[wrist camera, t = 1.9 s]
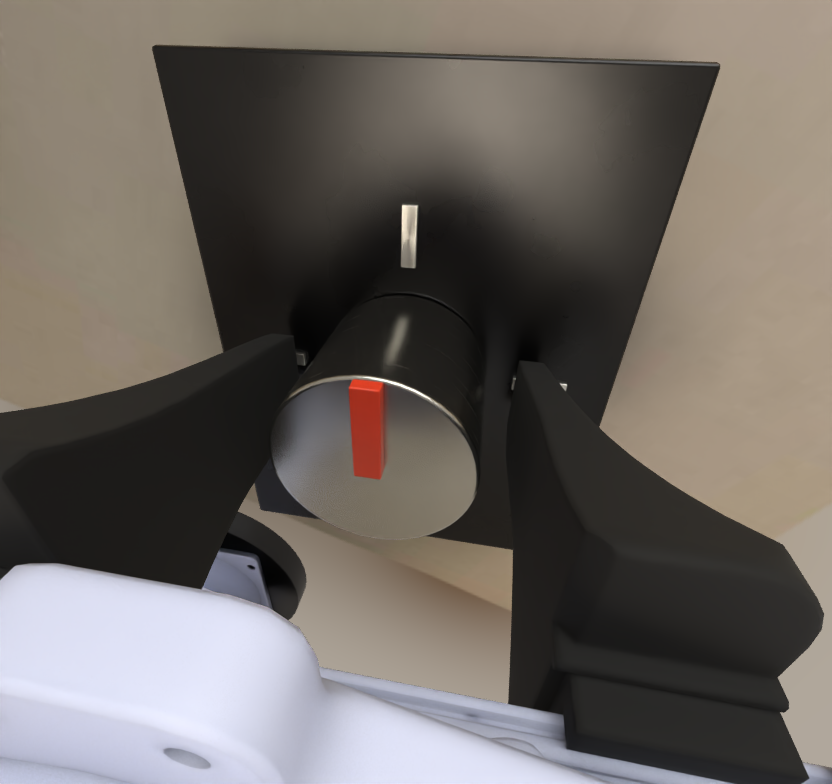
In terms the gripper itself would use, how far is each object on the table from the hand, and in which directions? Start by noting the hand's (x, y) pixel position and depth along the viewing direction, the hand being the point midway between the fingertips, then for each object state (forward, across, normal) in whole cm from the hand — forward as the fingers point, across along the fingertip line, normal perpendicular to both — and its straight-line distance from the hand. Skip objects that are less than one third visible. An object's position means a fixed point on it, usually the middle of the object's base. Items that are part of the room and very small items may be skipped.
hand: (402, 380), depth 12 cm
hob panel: (+4, 0, 0) cm, 4 cm away
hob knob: (+1, 0, 0) cm, 1 cm away
